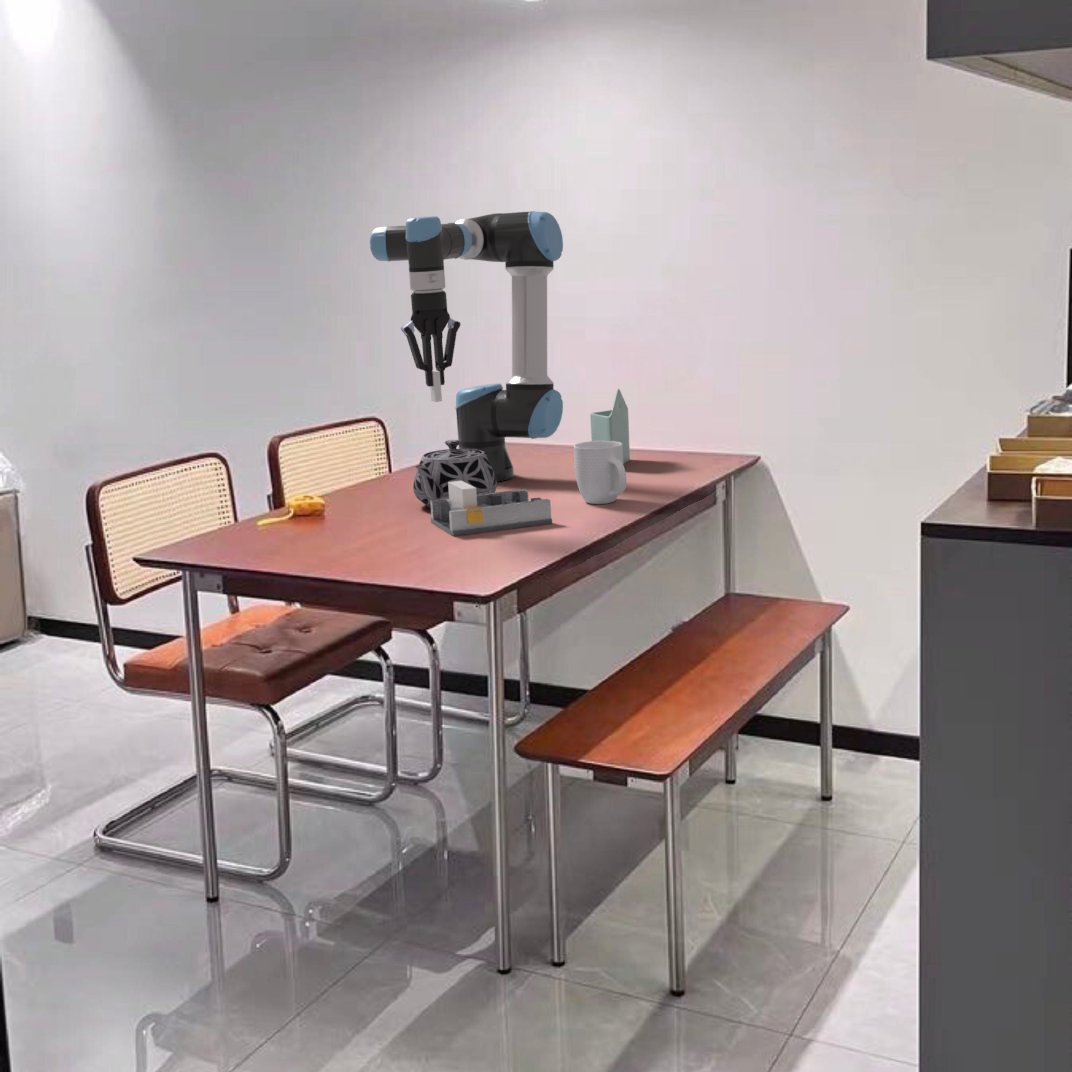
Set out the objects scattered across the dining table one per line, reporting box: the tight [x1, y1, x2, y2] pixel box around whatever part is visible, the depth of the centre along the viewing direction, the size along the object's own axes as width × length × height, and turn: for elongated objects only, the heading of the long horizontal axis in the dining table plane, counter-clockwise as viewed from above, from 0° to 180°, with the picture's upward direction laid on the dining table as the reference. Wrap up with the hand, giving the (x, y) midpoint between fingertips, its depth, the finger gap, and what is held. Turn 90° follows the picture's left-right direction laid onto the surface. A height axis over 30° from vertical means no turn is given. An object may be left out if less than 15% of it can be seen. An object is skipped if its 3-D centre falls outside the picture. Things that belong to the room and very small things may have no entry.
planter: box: [589, 388, 631, 465], centre depth 377 cm, size 16×8×20 cm, turn 162°
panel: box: [448, 481, 477, 511], centre depth 313 cm, size 10×3×8 cm, turn 21°
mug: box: [573, 440, 627, 505], centre depth 330 cm, size 15×11×13 cm
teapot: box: [412, 439, 498, 509], centre depth 335 cm, size 19×31×15 cm, turn 153°
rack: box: [430, 488, 553, 537], centre depth 315 cm, size 16×22×5 cm
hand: (436, 400), depth 319 cm, fingers closed
